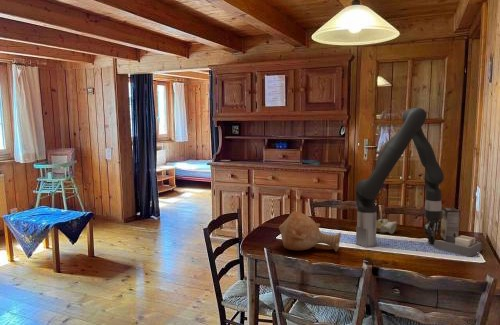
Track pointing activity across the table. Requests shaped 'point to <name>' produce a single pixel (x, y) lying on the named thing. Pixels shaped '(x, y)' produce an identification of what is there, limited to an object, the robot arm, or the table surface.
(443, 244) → the gray tray
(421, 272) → the table surface
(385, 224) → the ceramic sculpture
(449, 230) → the coffee box
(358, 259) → the table surface
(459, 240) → the wooden mallet
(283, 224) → the jug
